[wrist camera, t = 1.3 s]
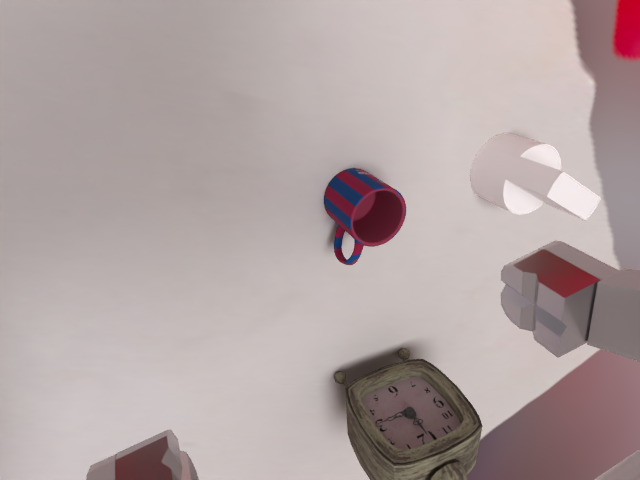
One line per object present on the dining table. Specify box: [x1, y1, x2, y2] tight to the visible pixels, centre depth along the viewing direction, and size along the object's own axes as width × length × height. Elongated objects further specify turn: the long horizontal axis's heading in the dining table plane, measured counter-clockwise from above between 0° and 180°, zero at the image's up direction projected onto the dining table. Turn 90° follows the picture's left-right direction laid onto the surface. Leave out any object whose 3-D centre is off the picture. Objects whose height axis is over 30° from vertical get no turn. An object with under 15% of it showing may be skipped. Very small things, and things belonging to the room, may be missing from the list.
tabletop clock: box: [335, 349, 482, 480], centre depth 56 cm, size 14×9×25 cm, turn 94°
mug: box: [324, 168, 406, 265], centre depth 49 cm, size 7×10×7 cm
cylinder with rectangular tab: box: [470, 133, 601, 221], centre depth 54 cm, size 9×9×12 cm
